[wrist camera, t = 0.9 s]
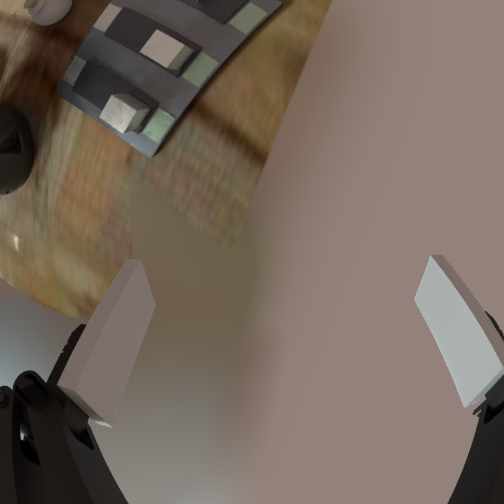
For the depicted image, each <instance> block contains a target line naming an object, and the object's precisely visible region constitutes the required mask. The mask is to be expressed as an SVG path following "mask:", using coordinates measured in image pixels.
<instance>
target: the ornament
mask: <svg viewBox="0 0 504 504" xmlns="http://www.w3.org/2000/svg"><path fill="white" fill-rule="evenodd" d="M72 1H73V0H26V2H25V4H24V8H25V9H26V8H29V9H28V12H29V14H31V15H32V18H33V20H34V22H36V23H37V24H39V25H51V24H54V23H56V22H58V21H59V20H61V19H62V18H63V17H64V16H65V15H66V14H67V13H68V11H69V10H70V8H71V5H72ZM16 12H17V11H16ZM15 14H16V13H15ZM15 14H14V15H11V16H13V18H14V17H15V16H17V15H15ZM13 18H12V19H13ZM18 22H19V21H18ZM18 22H17V24H18ZM27 23H28V24H29V23H30V21H29V22H27ZM17 24H16V25H15V26H12V27H13V28H14V30H15V29H16V28H18V27H19V26H17ZM28 24H27V25H28ZM14 30H13V32H14Z"/></svg>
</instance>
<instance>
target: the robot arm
mask: <svg viewBox="0 0 504 504" xmlns="http://www.w3.org/2000/svg"><path fill="white" fill-rule="evenodd" d="M32 159H33V144H32V137H31V132H30V128H29V125H28V123H27V121H26V119H25V117H24V115H23V114H22V113H21V112H20V111H19V110H18V109H17V108H15V107H11V106H8V107H4V108H0V195H1V194H2V195H6V194H9V193H12V192H14V191H15V190H17V189H18V188H20V187H21V186H22V185H23V184H24V183H25V182H26V180H27V178H28V176H29V173H30V170H31V166H32ZM414 300H415V302H416V304H417V306H418V308H419V310H420V311H421V313H422V315H423V317H424V319H425V321H426V323H427V325H428V327H429V328H430V330H431V333H432V335H433V337H434V338H435V340H436V342H437V345H438V347H439V349H440V351H441V353H442V355H443V358H444V360H445V362H446V364H447V367H448V369H449V371H450V373H451V376H452V378H453V381H454V383H455V385H456V388H457V390H458V393H459V396H460V398H461V401H462V403H463V406H464V408H466V407H468V406H470V405H473V404H475V403H477V402H478V401H479V400H480V399H481V398H482V397H483V396H484V395H485V397H486V400H485V401H484V402H483V403H482V404H481V405H480V406H479V407H478V408H476V409H475V410H474V412H473V415H475V414H476V413H477V412H478V411H480V410H481V412H480V413H479V414H478V415H477V417H479V421H478V425H477V429H476V432H475V435H474V439H473V442H472V445H471V448H470V451H469V454H468V457H467V460H466V462H465V465H464V468H463V471H462V473H461V475H460V477H459V480H458V482H457V485H456V487H455V489H454V491H453V493H452V495H451V497H450V500H449V502H448V504H504V336H503V333H502V331H501V329H499V326H498V325H497V323H496V321H495V320H494V318H493V317H492V316H490V315H489V314H488V313H487V312H486V311H484V310H483V309H482V307H481V306H480V304H479V302H478V301H477V300H476V298H475V297H474V295H473V294H472V293H471V291H470V290H469V288H468V287H467V286H466V284H465V283H464V282H463V280H462V279H461V278H460V276H459V275H458V274H457V273H456V271H455V270H454V269H453V268H452V266H451V265H450V264H449V263H448V261H447V260H446V259H445V258H444V257H443V255H430V259H429V261H428V264H427V267H426V270H425V272H424V275H423V278H422V281H421V283H420V286H419V288H418V291H417V293H416V296H415V298H414ZM155 307H156V305H155V302H154V299H153V296H152V293H151V290H150V287H149V284H148V280H147V277H146V274H145V271H144V267H143V264H142V260H126V261H125V263H124V264H123V266H122V267H121V269H120V270H119V272H118V273H117V275H116V277H115V278H114V280H113V281H112V283H111V285H110V286H109V288H108V289H107V291H106V293H105V294H104V296H103V298H102V299H101V301H100V303H99V305H98V306H97V308H96V310H95V311H94V313H93V315H92V317H91V318H90V320H89V322H88V324H87V325H85V324H81V325H79V327H77V328H76V329H75V330H74V331H73V332H72V334H71V336H70V337H69V339H68V341H67V345H65V347H64V348H63V350H62V353H61V354H60V356H59V358H58V360H57V362H56V364H55V366H54V368H53V370H52V372H51V374H50V376H49V378H48V380H47V382H46V383H45V381H44V380H43V379H42V378H41V377H40V376H39V375H38V374H37V373H36V372H35V371H31V370H29V371H25V372H23V373H21V374H20V375H19V376H18V377H17V379H16V380H15V382H14V385H13V390H12V389H11V388H9V387H8V386H1V387H0V504H128V502H127V500H126V499H125V497H124V495H123V494H122V492H121V490H120V488H119V487H118V485H117V483H116V481H115V479H114V478H113V476H112V474H111V472H110V470H109V468H108V466H107V464H106V462H105V460H104V457H103V455H102V453H101V452H100V449H99V447H98V444H97V442H96V440H95V437H94V435H93V432H92V430H91V427H90V426H89V424H88V423H87V422H88V419H89V417H90V418H91V419H92V420H93V421H95V422H96V423H98V424H101V425H104V426H107V427H111V428H114V425H115V421H116V418H117V415H118V411H119V408H120V405H121V401H122V399H123V395H124V392H125V389H126V386H127V383H128V380H129V377H130V374H131V371H132V368H133V365H134V363H135V360H136V357H137V354H138V351H139V349H140V346H141V343H142V341H143V338H144V335H145V333H146V330H147V327H148V325H149V322H150V319H151V317H152V314H153V312H154V309H155ZM20 432H21V433H22V434H24V439H23V440H21V436H20Z"/></svg>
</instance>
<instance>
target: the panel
mask: <svg viewBox="0 0 504 504" xmlns="http://www.w3.org/2000/svg"><path fill="white" fill-rule="evenodd" d="M282 4H283V3H282V2H280V1H279V0H198V1H197V0H112V1H111V2H110V3H109V5H108V6H107V7H106V8H105V10H104V11H103V13H102V14H101V15H100V17H99V18H98V19H97V21H96V22H95V24H94V25H93V27H92V28H91V30H90V31H89V33H88V34H87V36H86V37H85V39H84V41H83V42H82V44H81V46H80V47H79V49H78V51H77V52H76V54H75V56H74V58H73V59H72V61H71V63H70V65H69V67H68V69H67V71H66V72H65V74H64V76H63V78H62V80H61V82H60V85H59V87H58V89H57V91H56V93H57V94H58V95H60V96H61V97H63V98H64V99H66V100H67V101H69V102H70V103H71V104H73V105H74V106H76V107H77V108H79V109H80V110H82V111H83V112H85V113H86V114H87V115H89V116H90V117H92V118H93V119H95V120H96V121H98V122H99V123H100V124H102V125H103V126H105V127H106V128H108V129H109V130H111V131H112V132H113V133H115V134H116V135H118V136H119V137H121V138H122V139H123V140H125V141H126V142H128V143H129V144H130V145H132V146H133V147H135V148H136V149H138V150H139V151H140V152H142V153H143V154H145V155H146V156H147V157H149V158H150V159H151V158H152V157H154V156H155V155H156V153H157V152H158V150H159V149H160V147H161V146H162V144H163V143H164V141H165V140H166V138H167V137H168V135H169V134H170V133H171V131H172V130H173V128H174V127H175V125H176V124H177V123H178V121H179V120H180V119H181V117H182V116H183V114H184V113H185V112H186V110H187V109H188V108H189V107H190V105H191V104H192V103H193V101H194V100H195V99H196V97H197V96H198V95H199V94H200V92H201V91H202V90H203V89H204V87H205V86H206V85H207V84H208V83H209V81H210V80H211V79H212V78H213V77H214V75H215V74H216V73H217V72H218V71H219V70H220V68H221V67H222V66H223V65H224V64H225V63H226V62H227V61H228V59H229V58H230V57H231V56H232V55H233V54H234V53H235V52H236V51H237V50H238V49H239V48H240V47H241V46H242V44H243V43H244V42H245V41H246V40H247V39H248V38H249V37H250V36H251V35H252V34H253V33H254V32H255V31H256V30H257V29H258V28H259V27H260V26H261V25H263V24H264V23H265V22H266V21H267V20H268V19H269V18H270V17H271V16H272V15H273V14H274V13H276V12H277V11H278V10H279V9H280V8H281V7H282Z"/></svg>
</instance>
